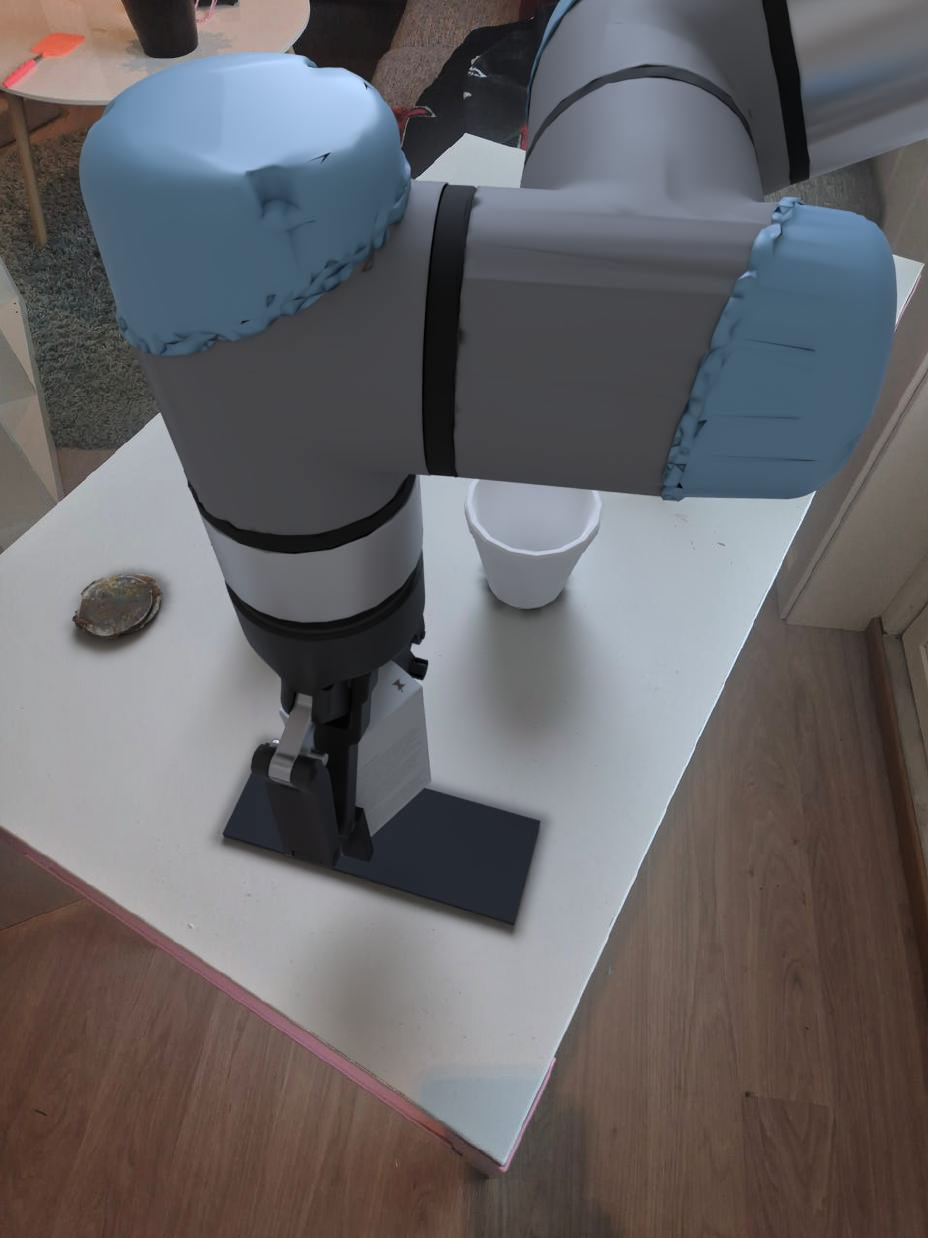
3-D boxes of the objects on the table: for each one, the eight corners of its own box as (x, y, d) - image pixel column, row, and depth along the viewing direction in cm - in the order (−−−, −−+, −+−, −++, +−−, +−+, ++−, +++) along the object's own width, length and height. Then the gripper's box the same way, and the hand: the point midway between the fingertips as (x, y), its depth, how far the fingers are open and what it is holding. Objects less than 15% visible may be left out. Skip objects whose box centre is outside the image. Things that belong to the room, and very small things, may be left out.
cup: (612, 581, 67) (632, 503, 60) (528, 654, 64) (537, 581, 56) (523, 513, 71) (530, 433, 64) (438, 578, 67) (435, 501, 60)
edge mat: (540, 822, 56) (540, 820, 56) (513, 925, 52) (513, 924, 52) (266, 744, 59) (265, 741, 59) (223, 836, 55) (222, 834, 55)
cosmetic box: (386, 737, 52) (369, 634, 43) (433, 782, 51) (427, 685, 41) (311, 802, 50) (274, 708, 40) (357, 851, 48) (331, 766, 38)
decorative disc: (151, 642, 64) (147, 635, 63) (69, 641, 64) (64, 634, 63) (169, 574, 67) (165, 567, 67) (91, 573, 67) (87, 566, 67)
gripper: (328, 361, 37) (372, 639, 56) (90, 757, 26) (244, 936, 45) (491, 394, 36) (479, 667, 55) (312, 824, 25) (374, 978, 44)
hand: (373, 788), depth 50 cm, fingers closed on cosmetic box, 7 cm apart
